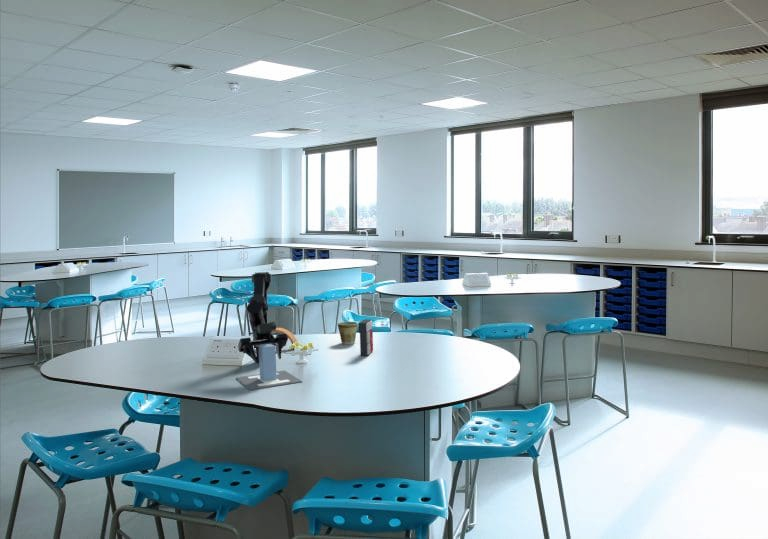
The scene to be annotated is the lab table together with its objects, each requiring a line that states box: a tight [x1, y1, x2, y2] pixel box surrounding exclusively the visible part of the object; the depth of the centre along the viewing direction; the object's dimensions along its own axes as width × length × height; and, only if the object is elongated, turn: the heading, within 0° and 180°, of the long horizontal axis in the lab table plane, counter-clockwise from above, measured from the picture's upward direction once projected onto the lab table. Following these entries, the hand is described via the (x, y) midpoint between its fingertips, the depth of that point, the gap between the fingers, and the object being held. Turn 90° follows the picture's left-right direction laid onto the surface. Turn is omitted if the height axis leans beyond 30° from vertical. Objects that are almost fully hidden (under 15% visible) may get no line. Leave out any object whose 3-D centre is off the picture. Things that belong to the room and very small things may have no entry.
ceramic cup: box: [337, 321, 359, 345], centre depth 300 cm, size 13×10×10 cm
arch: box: [272, 327, 298, 345], centre depth 290 cm, size 6×20×10 cm, turn 81°
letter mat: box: [236, 370, 303, 391], centre depth 231 cm, size 20×20×1 cm
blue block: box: [258, 344, 277, 381], centre depth 230 cm, size 5×5×13 cm
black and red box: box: [357, 318, 374, 357], centre depth 273 cm, size 11×4×15 cm, turn 168°
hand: (268, 360), depth 229 cm, fingers open, 9 cm apart
